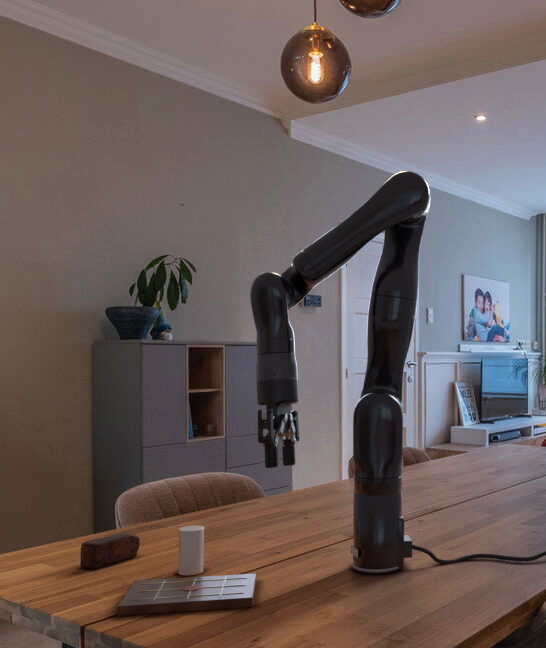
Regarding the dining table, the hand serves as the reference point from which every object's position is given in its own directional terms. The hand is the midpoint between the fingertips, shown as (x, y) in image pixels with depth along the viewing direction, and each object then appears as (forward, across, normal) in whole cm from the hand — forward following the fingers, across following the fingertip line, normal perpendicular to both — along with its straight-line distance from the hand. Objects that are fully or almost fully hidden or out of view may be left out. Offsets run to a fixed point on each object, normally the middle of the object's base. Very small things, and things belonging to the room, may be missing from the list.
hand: (280, 466), depth 134 cm
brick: (+16, +4, +37) cm, 40 cm away
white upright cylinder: (+18, 0, +18) cm, 26 cm away
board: (+20, -13, +11) cm, 26 cm away
